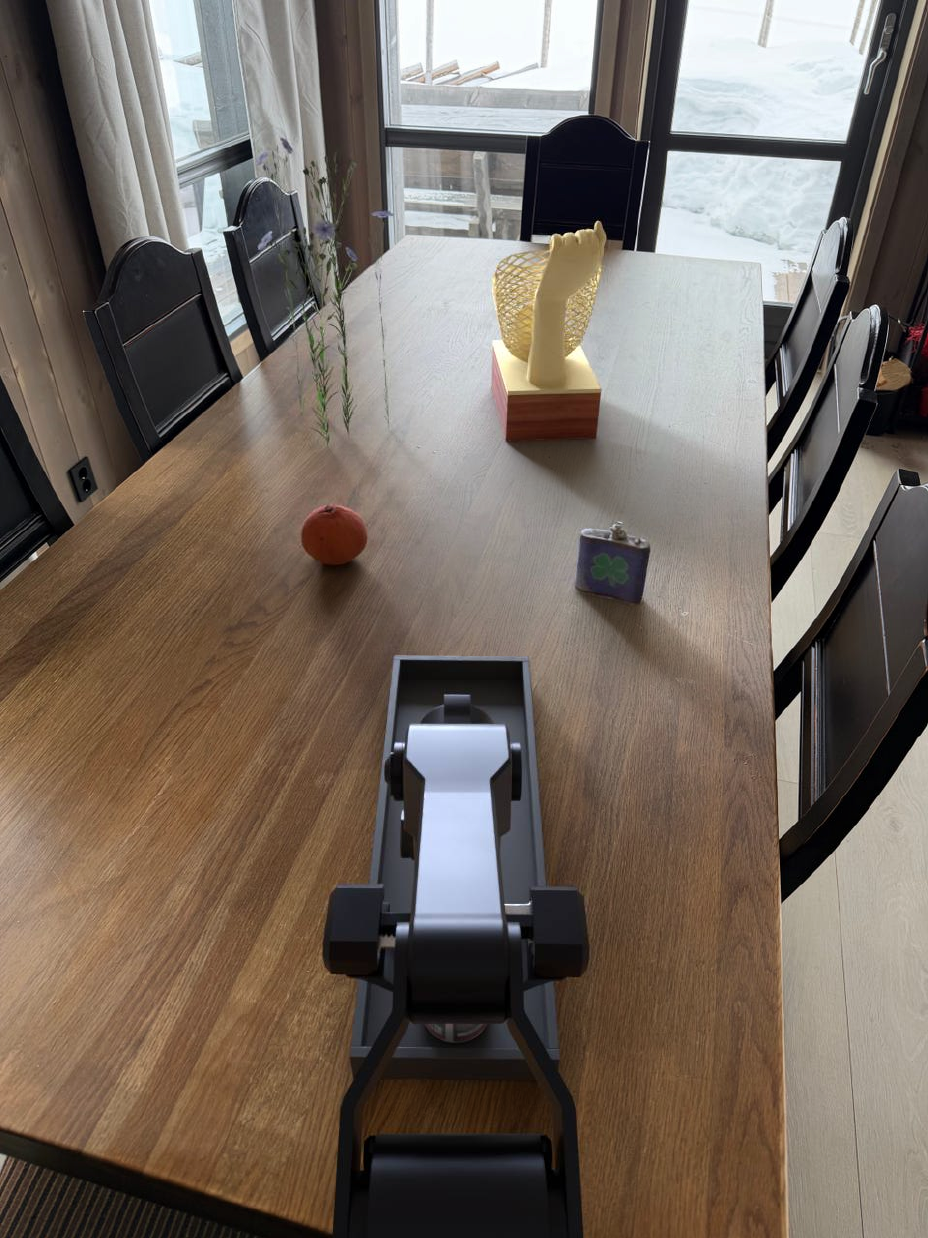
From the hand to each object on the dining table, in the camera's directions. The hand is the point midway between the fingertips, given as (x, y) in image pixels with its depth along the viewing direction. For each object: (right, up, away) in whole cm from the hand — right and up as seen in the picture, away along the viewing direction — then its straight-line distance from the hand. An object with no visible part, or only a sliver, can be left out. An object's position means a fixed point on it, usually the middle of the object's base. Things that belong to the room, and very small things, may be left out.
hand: (455, 988), depth 68 cm
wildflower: (-22, +63, +85) cm, 108 cm away
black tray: (0, +8, +16) cm, 18 cm away
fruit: (-17, +37, +53) cm, 68 cm away
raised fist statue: (+14, +67, +91) cm, 114 cm away
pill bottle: (0, -3, +2) cm, 4 cm away
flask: (+20, +32, +48) cm, 61 cm away
